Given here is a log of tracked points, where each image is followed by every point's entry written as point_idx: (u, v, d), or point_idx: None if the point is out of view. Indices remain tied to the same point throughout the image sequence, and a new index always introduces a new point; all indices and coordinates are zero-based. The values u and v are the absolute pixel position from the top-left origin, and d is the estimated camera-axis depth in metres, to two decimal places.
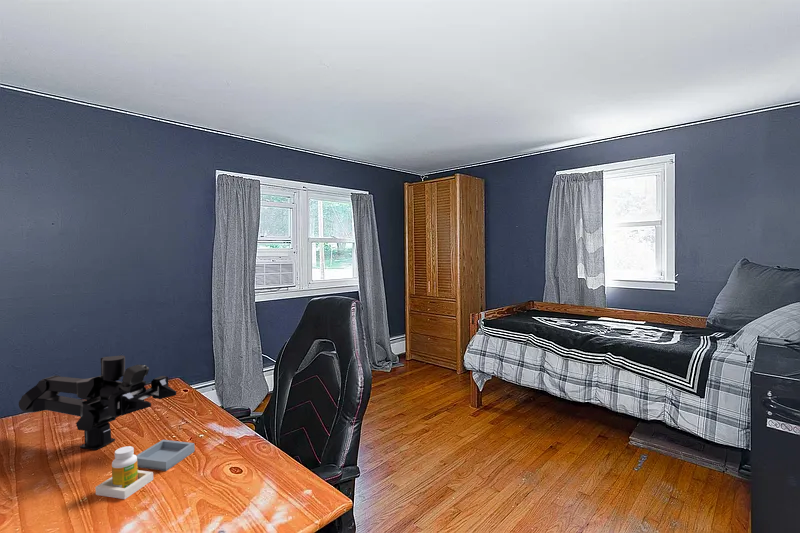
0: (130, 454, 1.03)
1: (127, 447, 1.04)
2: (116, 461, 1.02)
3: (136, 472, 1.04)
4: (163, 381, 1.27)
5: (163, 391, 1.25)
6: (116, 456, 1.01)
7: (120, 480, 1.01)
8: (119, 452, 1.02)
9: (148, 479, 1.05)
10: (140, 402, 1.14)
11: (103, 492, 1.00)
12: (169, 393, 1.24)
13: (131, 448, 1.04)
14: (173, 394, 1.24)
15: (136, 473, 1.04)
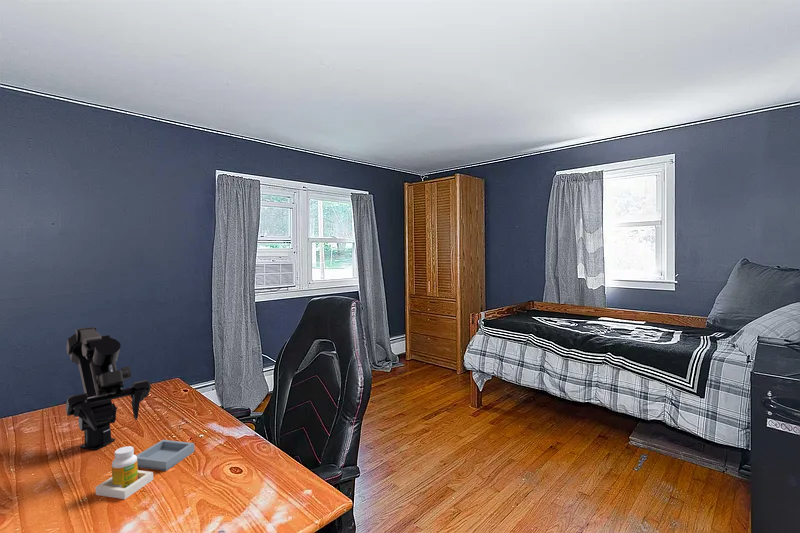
0: (130, 454, 1.03)
1: (127, 447, 1.04)
2: (116, 461, 1.02)
3: (136, 472, 1.04)
4: (139, 393, 1.15)
5: (133, 403, 1.14)
6: (116, 456, 1.01)
7: (120, 480, 1.01)
8: (119, 452, 1.02)
9: (148, 479, 1.05)
10: (89, 420, 1.05)
11: (103, 492, 1.00)
12: (134, 412, 1.13)
13: (131, 448, 1.04)
14: (134, 417, 1.12)
15: (136, 473, 1.04)
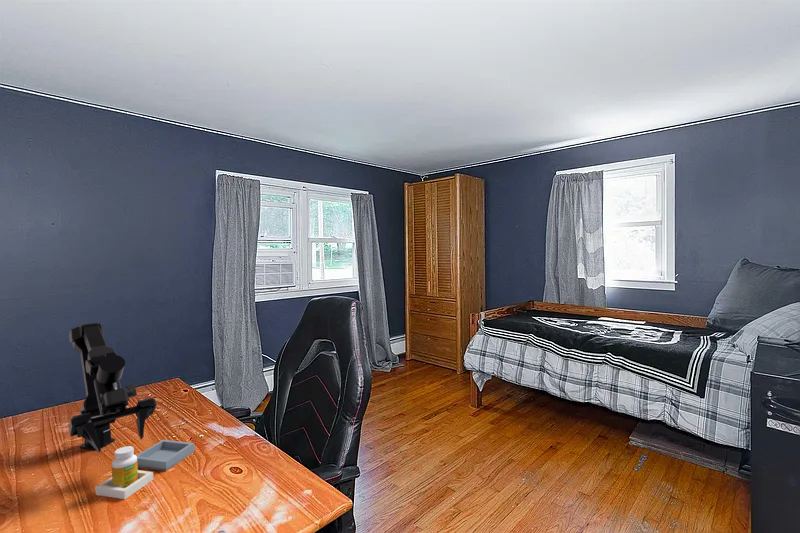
0: (130, 454, 1.03)
1: (127, 447, 1.04)
2: (116, 461, 1.02)
3: (136, 472, 1.04)
4: (144, 411, 1.11)
5: (138, 422, 1.11)
6: (116, 456, 1.01)
7: (120, 480, 1.01)
8: (119, 452, 1.02)
9: (148, 479, 1.05)
10: (93, 442, 1.02)
11: (103, 492, 1.00)
12: (139, 431, 1.10)
13: (131, 448, 1.04)
14: None
15: (136, 473, 1.04)
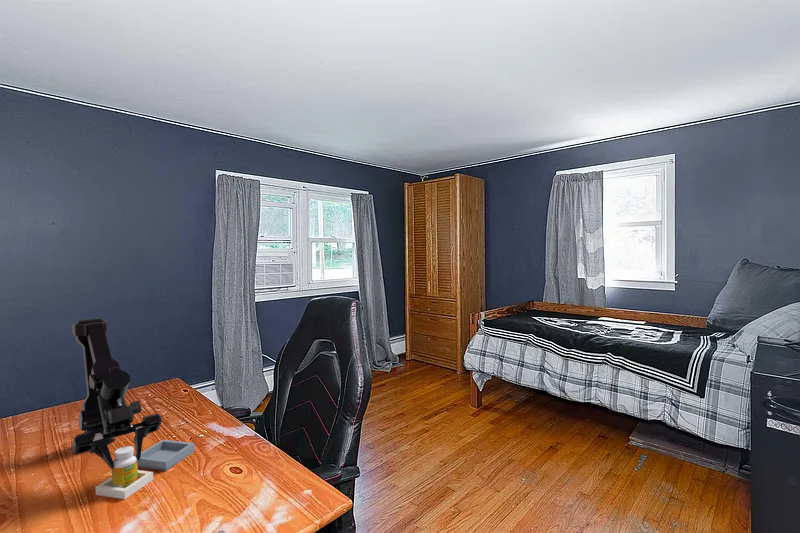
0: (130, 454, 1.03)
1: (127, 447, 1.04)
2: (116, 461, 1.01)
3: (136, 472, 1.04)
4: (142, 430, 1.07)
5: (136, 441, 1.07)
6: (116, 456, 1.01)
7: (120, 479, 1.01)
8: (119, 452, 1.02)
9: (148, 479, 1.05)
10: (106, 458, 1.00)
11: (103, 492, 1.00)
12: (136, 451, 1.06)
13: (131, 448, 1.04)
14: (137, 457, 1.05)
15: (136, 473, 1.04)
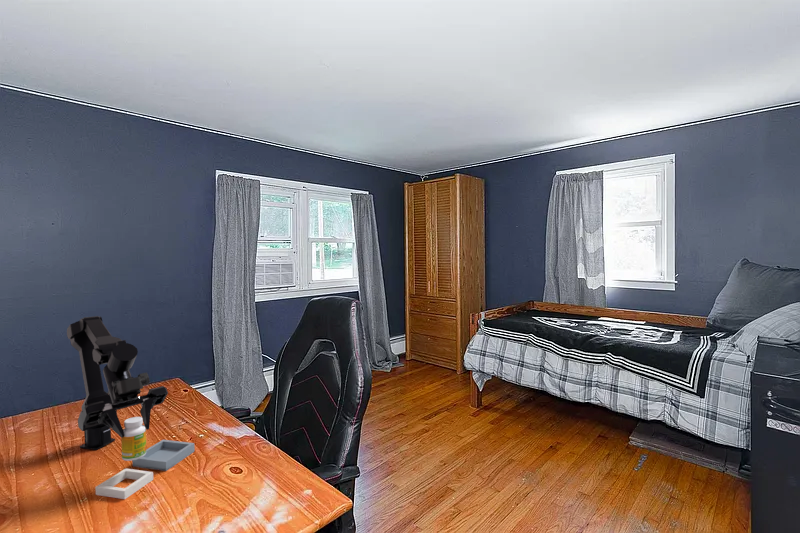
0: (140, 424, 1.05)
1: (135, 417, 1.07)
2: (126, 430, 1.04)
3: (145, 442, 1.07)
4: (150, 401, 1.10)
5: (143, 412, 1.09)
6: (126, 425, 1.04)
7: (130, 448, 1.03)
8: (129, 421, 1.04)
9: (148, 479, 1.05)
10: (116, 427, 1.03)
11: (103, 492, 1.00)
12: (144, 421, 1.08)
13: (140, 418, 1.06)
14: (146, 427, 1.07)
15: (145, 442, 1.07)
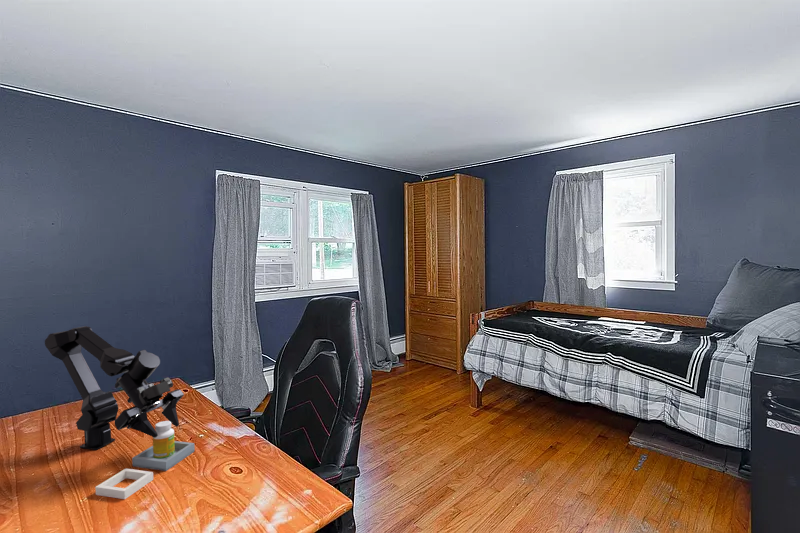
0: (170, 426, 1.17)
1: (163, 422, 1.18)
2: (159, 433, 1.15)
3: (174, 442, 1.19)
4: (174, 402, 1.22)
5: (169, 412, 1.21)
6: (159, 429, 1.15)
7: (165, 448, 1.15)
8: (161, 425, 1.16)
9: (148, 479, 1.05)
10: (149, 429, 1.13)
11: (103, 492, 1.00)
12: (172, 420, 1.21)
13: (169, 421, 1.18)
14: (175, 424, 1.20)
15: None
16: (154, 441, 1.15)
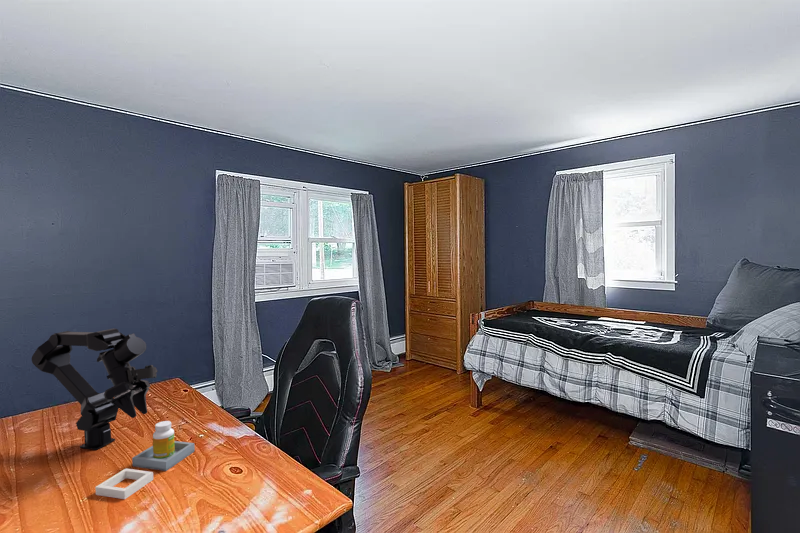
0: (170, 426, 1.17)
1: (163, 422, 1.18)
2: (159, 433, 1.15)
3: (174, 442, 1.19)
4: (147, 391, 1.28)
5: (138, 399, 1.26)
6: (159, 429, 1.15)
7: (165, 448, 1.15)
8: (161, 425, 1.16)
9: (148, 479, 1.05)
10: (132, 408, 1.16)
11: (103, 492, 1.00)
12: (141, 407, 1.25)
13: (169, 421, 1.18)
14: (143, 412, 1.25)
15: None
16: (154, 441, 1.15)
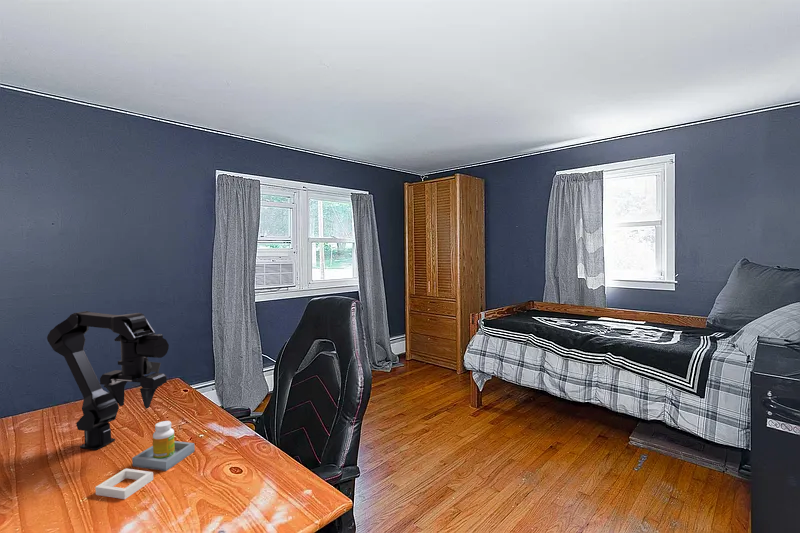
0: (170, 426, 1.17)
1: (163, 422, 1.18)
2: (159, 433, 1.15)
3: (174, 442, 1.19)
4: None
5: (120, 390, 1.23)
6: (159, 429, 1.15)
7: (165, 448, 1.15)
8: (161, 425, 1.16)
9: (148, 479, 1.05)
10: (151, 399, 1.22)
11: (103, 492, 1.00)
12: (120, 398, 1.23)
13: (168, 421, 1.18)
14: (121, 403, 1.23)
15: None
16: (154, 441, 1.15)
